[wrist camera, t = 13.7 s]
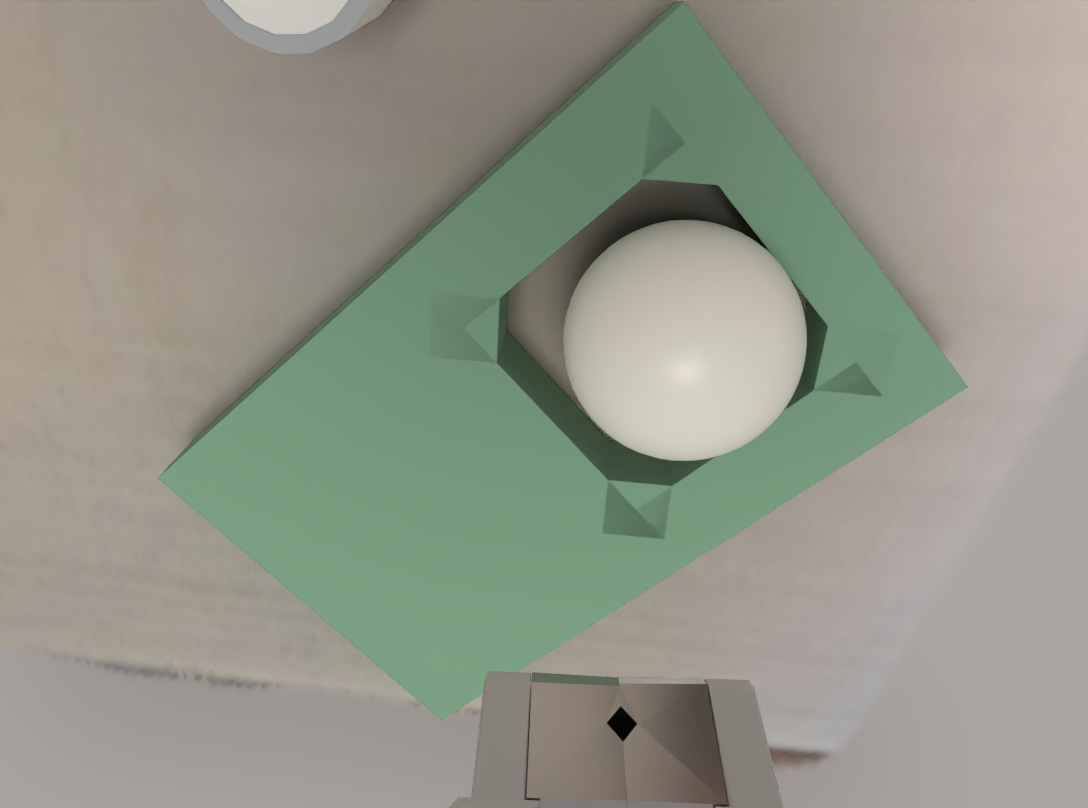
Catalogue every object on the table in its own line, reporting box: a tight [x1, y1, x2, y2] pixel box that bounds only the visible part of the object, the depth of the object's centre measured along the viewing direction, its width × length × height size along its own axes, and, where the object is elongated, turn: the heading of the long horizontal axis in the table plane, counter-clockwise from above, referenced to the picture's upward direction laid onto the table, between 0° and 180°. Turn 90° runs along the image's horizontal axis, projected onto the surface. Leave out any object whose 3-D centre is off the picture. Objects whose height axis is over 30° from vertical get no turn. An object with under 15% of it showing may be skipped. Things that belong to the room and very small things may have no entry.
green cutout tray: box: [158, 1, 968, 720], centre depth 41 cm, size 32×20×4 cm, turn 131°
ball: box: [563, 220, 807, 461], centre depth 36 cm, size 10×10×10 cm
